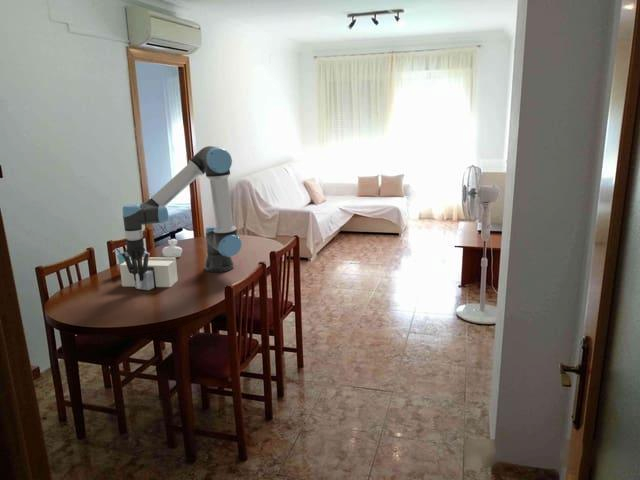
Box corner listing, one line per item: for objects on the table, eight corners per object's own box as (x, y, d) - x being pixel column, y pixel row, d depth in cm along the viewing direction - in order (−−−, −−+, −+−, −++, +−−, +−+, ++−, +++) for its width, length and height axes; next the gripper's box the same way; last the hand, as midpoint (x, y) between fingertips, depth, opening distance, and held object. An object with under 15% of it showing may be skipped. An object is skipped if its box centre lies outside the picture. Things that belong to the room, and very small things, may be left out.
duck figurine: (183, 260, 291) (186, 242, 296) (178, 255, 284) (182, 237, 289) (163, 259, 293) (167, 242, 297) (158, 255, 286) (162, 237, 290)
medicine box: (154, 287, 239) (153, 270, 237) (148, 290, 235) (146, 273, 233) (141, 286, 242) (139, 268, 240) (135, 288, 238) (133, 271, 236)
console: (177, 280, 249) (175, 257, 246) (170, 287, 239) (167, 263, 237) (131, 279, 252) (129, 257, 249) (122, 286, 242) (119, 262, 239)
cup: (121, 279, 252) (118, 250, 249) (110, 277, 255) (106, 249, 252) (141, 271, 265) (138, 243, 261) (130, 269, 268) (126, 242, 264)
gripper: (151, 236, 232) (156, 284, 237) (124, 236, 233) (130, 284, 239) (144, 240, 224) (149, 290, 230) (116, 240, 226) (122, 289, 231)
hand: (139, 287), depth 234 cm, fingers closed
